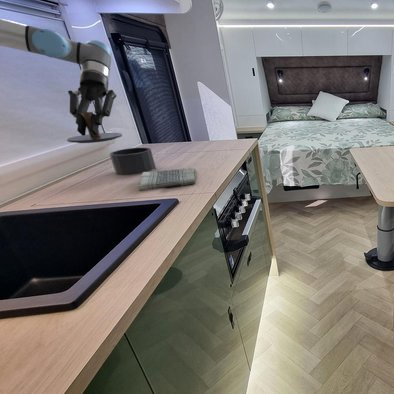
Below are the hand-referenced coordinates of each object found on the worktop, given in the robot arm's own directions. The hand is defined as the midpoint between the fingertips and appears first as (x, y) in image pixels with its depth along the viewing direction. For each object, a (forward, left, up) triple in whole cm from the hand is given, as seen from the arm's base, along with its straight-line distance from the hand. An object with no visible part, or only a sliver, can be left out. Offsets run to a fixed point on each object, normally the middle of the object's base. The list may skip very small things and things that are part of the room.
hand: (87, 132), depth 95 cm
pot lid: (-1, +4, -3) cm, 5 cm away
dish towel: (+19, +4, -20) cm, 28 cm away
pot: (-1, +20, -19) cm, 28 cm away
